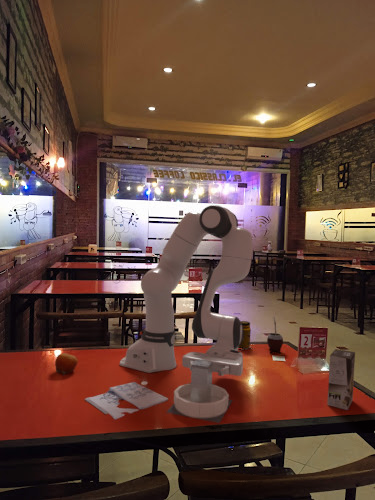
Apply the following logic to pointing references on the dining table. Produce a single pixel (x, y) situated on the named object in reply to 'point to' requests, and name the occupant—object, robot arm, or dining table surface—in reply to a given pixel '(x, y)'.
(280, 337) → the mate gourd
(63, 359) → the fruit
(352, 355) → the coffee box
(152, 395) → the printed paper sheets
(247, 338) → the condiment
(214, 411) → the bowl
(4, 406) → the dining table surface
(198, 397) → the tin
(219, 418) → the mat
